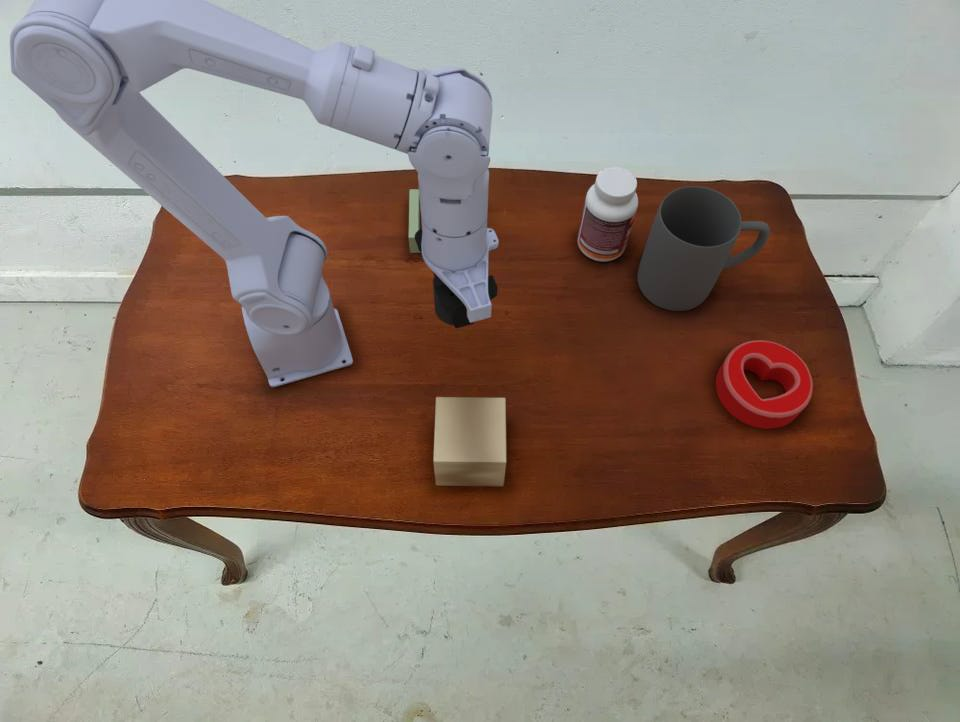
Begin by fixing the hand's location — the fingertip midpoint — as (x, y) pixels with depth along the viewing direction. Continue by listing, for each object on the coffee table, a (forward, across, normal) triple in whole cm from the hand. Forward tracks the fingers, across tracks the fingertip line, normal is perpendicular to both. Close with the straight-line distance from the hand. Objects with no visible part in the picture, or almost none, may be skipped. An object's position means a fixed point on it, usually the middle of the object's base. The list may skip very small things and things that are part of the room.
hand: (456, 304), depth 72 cm
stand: (+10, -12, +2) cm, 16 cm away
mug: (+10, +1, -31) cm, 32 cm away
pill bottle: (+11, +10, -22) cm, 27 cm away
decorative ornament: (+10, -15, -31) cm, 36 cm away
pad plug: (+1, 0, 0) cm, 1 cm away
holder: (+10, +19, -4) cm, 22 cm away
